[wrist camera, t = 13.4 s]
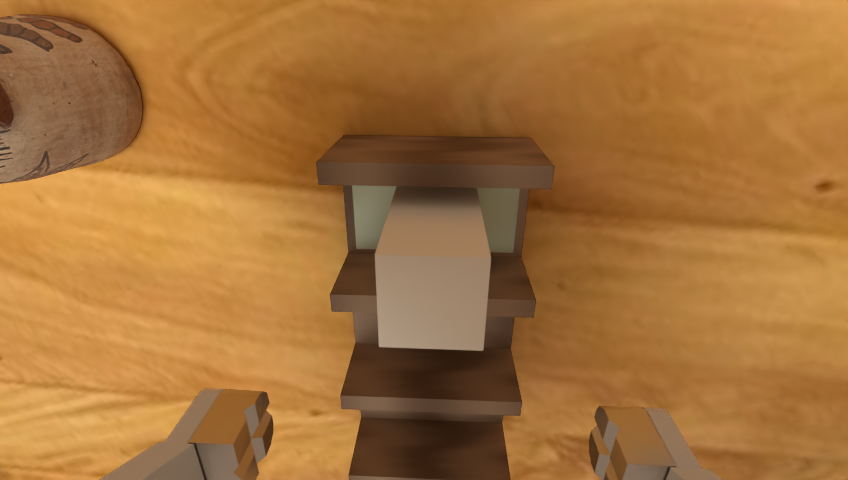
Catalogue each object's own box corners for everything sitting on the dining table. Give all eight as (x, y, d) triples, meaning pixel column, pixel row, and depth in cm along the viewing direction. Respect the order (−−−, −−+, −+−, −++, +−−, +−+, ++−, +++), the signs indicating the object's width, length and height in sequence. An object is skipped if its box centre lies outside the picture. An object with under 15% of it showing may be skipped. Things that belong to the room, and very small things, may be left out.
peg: (474, 178, 23) (491, 257, 15) (470, 246, 25) (483, 350, 16) (399, 177, 23) (374, 254, 15) (400, 244, 25) (379, 346, 17)
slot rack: (530, 137, 23) (554, 166, 18) (499, 421, 32) (509, 493, 27) (343, 135, 23) (316, 162, 18) (364, 416, 32) (349, 486, 27)
